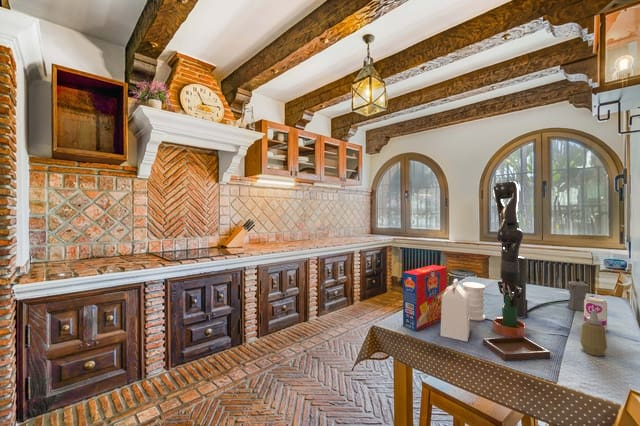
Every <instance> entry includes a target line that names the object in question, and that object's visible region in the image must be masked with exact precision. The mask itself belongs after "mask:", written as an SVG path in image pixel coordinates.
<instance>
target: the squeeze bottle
mask: <svg viewBox="0 0 640 426" xmlns="http://www.w3.org/2000/svg"><path fill="white" fill-rule="evenodd" d="M586 321H587V322H584V321H583V322H582V328H581V334H580V344H581V347H582V349H583V351H584V352H585V353H586V354H589V355H592V356H595V357H604V354H605V353H606V351H607V348H608V343H607V334H606V330H605V327H604V326H603V325H601V324H602V320H600V319H598V316H597V312H596V310H592V312H591V315H590V317H587V318H586Z"/></svg>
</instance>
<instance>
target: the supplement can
mask: <svg viewBox="0 0 640 426" xmlns="http://www.w3.org/2000/svg"><path fill="white" fill-rule="evenodd" d="M585 297H586V298H585V300H584V311H583V323H584V322H587V321H586V318H587V317H590V315H591V312H592V310H596V312H597V316H598V319H600V320H602V324H601V325H603V326H604V327H605V331H607V330H608V302H607V301H606V299H604V298H601V297H597V296H596V297H595V296H594V297H589V296H585Z"/></svg>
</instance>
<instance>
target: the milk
mask: <svg viewBox="0 0 640 426" xmlns="http://www.w3.org/2000/svg"><path fill="white" fill-rule="evenodd" d="M445 290H446V291H445V292H444V294H443V296H442V309H441V320H440V333H439V334H440V335H439V336H440V337H445V338H448V339H449V338H450V339H454V340H458V341H462V342H469V337H470V332H471V329H470V319H469V302H468V294H467V293H466V291H465V290H464V288H463V287H462V286H461V285H460V284H459V280H458V278H454V279H453V281H452V285H448V287H447V288H446V289H445Z"/></svg>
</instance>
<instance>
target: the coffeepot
mask: <svg viewBox="0 0 640 426" xmlns="http://www.w3.org/2000/svg"><path fill="white" fill-rule="evenodd" d="M567 286H568V291H569V299H568V300H569V301H568V302H567V308H568V309H570V310H573V311H576V312H577V311H578V312H584V300H585V297H587V291H588V287H589V284H588V283H587V281H586V280H583V281H580V278H575V281H574V280H573V281H567Z"/></svg>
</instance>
